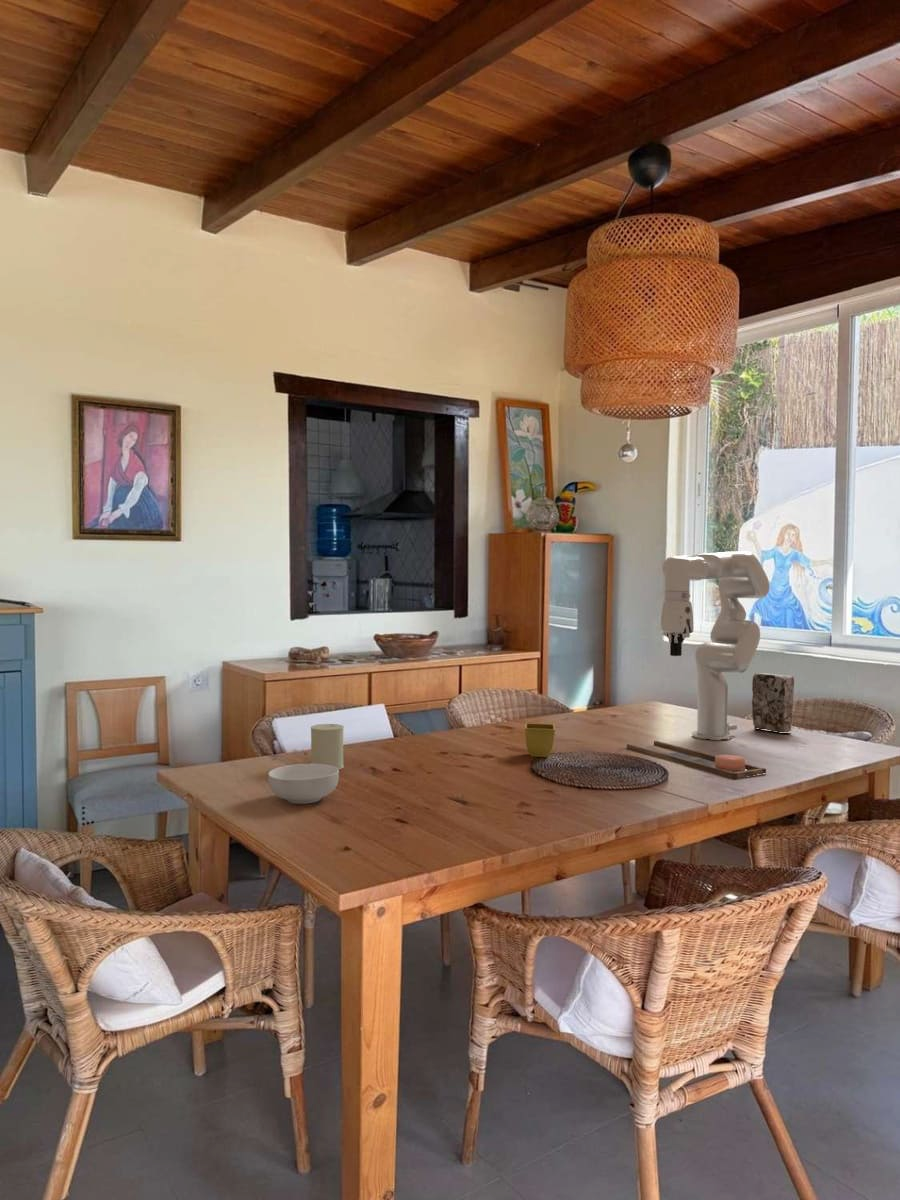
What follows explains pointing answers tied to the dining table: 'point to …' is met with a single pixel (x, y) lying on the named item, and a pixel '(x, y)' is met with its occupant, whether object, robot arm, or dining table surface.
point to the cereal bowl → (303, 782)
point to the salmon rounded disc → (730, 763)
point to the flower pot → (539, 739)
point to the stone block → (772, 701)
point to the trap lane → (693, 759)
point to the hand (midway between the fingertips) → (675, 655)
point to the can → (327, 745)
